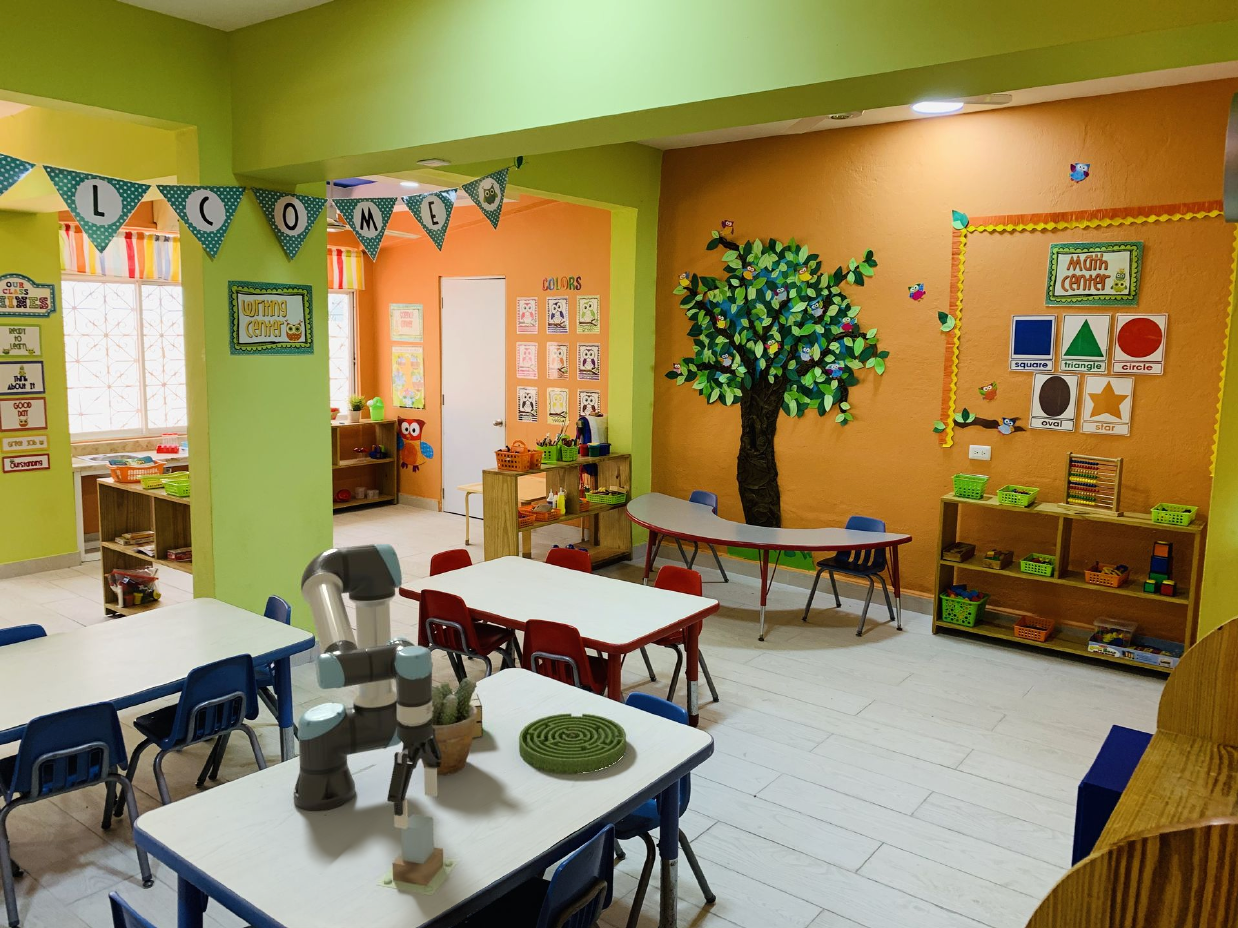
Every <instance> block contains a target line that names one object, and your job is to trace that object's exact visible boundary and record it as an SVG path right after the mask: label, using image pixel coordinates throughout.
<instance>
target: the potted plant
mask: <svg viewBox="0 0 1238 928" xmlns="http://www.w3.org/2000/svg"><path fill="white" fill-rule="evenodd" d="M476 689H477V681H476V680H474V678H472V677H464V678H463V679H462V681H461V682H460V685H458V687H457V689H456V691H454V692H453V688H452V687H450V685H449V682H445V681H444V682H442V683H441V685H440V687H439V685H437V684H435V683H432V707H433V708H434V709H433V711H432V717H431V718H432V719H433V728H435V737H436V740H437V742H438V745H439V748H440V751H441V754H442V759H441V760H439V761H438V762H441V763H442V764H441V767H437V776H439V775H440V776H445V775H446V776H447V775H451V774H455V773H457V772H459V771H461V770H462V769H464V767H465V765H466V763H467V759H468V757H469V752H470V749H471V746H472V742H473V739H474V738H473V732H474V729H475V727H476V720H477V709H476V707H475V706H474V705H472V704H470V702H471V701H470V699H471V697H472V694H475V691H476ZM420 760H421V763H422V765H423V769H424V768H425V767H426V766H427V767H428V765H426V763H425V762H424V761H423V760H422V758H421V759H420Z"/></svg>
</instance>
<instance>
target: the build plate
mask: <svg viewBox="0 0 1238 928" xmlns="http://www.w3.org/2000/svg"><path fill="white" fill-rule="evenodd" d="M458 862H459V861H458V860H455V859H448V858H444V857H443V866H442V868H441V869H440V870H439V871H438V873H437V874H436V875H435V876H434V878H433V879H432V880H431V881H430V882H429V884H428V885H427V886H422V885H417V884H412V883H406V882H401V881H395V880H393V866H392V867H391V868H390V869H389V870H388V871H387V873H385V875H384V876H383V877H382V878H381V880H379V881H378V883H377V884H376V886H378V887H379V886H381V887H386V888H390V889H396V890H401V891H407V892H412V893H416V894H417V893H418V894H423V895H428V896H432V895H433V894H434V893H435V892H436V891H437V889H438V888H439V886H441V884H442V883H443V881H445V879H446V878H447V876H448V875H449V874H450V872H451V871H452V870H453V869H454V867H455V866H456V865H457V864H458Z"/></svg>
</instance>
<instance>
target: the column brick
mask: <svg viewBox="0 0 1238 928" xmlns="http://www.w3.org/2000/svg"><path fill="white" fill-rule="evenodd" d="M434 835H435V834H434V817H432V816H431V817H430V816H425V815H419V814H415V813H413V814H411V815H410V816H409V817H408V827H407V829H403V828H401V853H402V860H404V861H409V862H415V863H421V864H424V862H425V861H426V860H427V859H428V858H429V856H430V855H431V854H432V853H433V852H434V847H435V845H434V844H435V843H434V842H435V841H434Z"/></svg>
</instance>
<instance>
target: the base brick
mask: <svg viewBox="0 0 1238 928" xmlns="http://www.w3.org/2000/svg"><path fill="white" fill-rule="evenodd" d="M443 858H444V849H443V848H442V847H441V848H440V847H435V846H434V852H433V853H432V854H431V855H430V856H429V858H428V859H427V860H426V861H425V862H424V864H421V863H415V862H409V861H404V860H402V852H401V853H400V854H399V855H398V857H396V858H395V859H394V861H393V862H392V867H393V880H395V881H401V882H406V883H412V884H417V885H422V886H427V885H428V884H429V882H430V881H431V880H432V879H433V878H434V876H435V875H436V874H437V873H438V871H439V870H440V869H441V868H442V866H443Z"/></svg>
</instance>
